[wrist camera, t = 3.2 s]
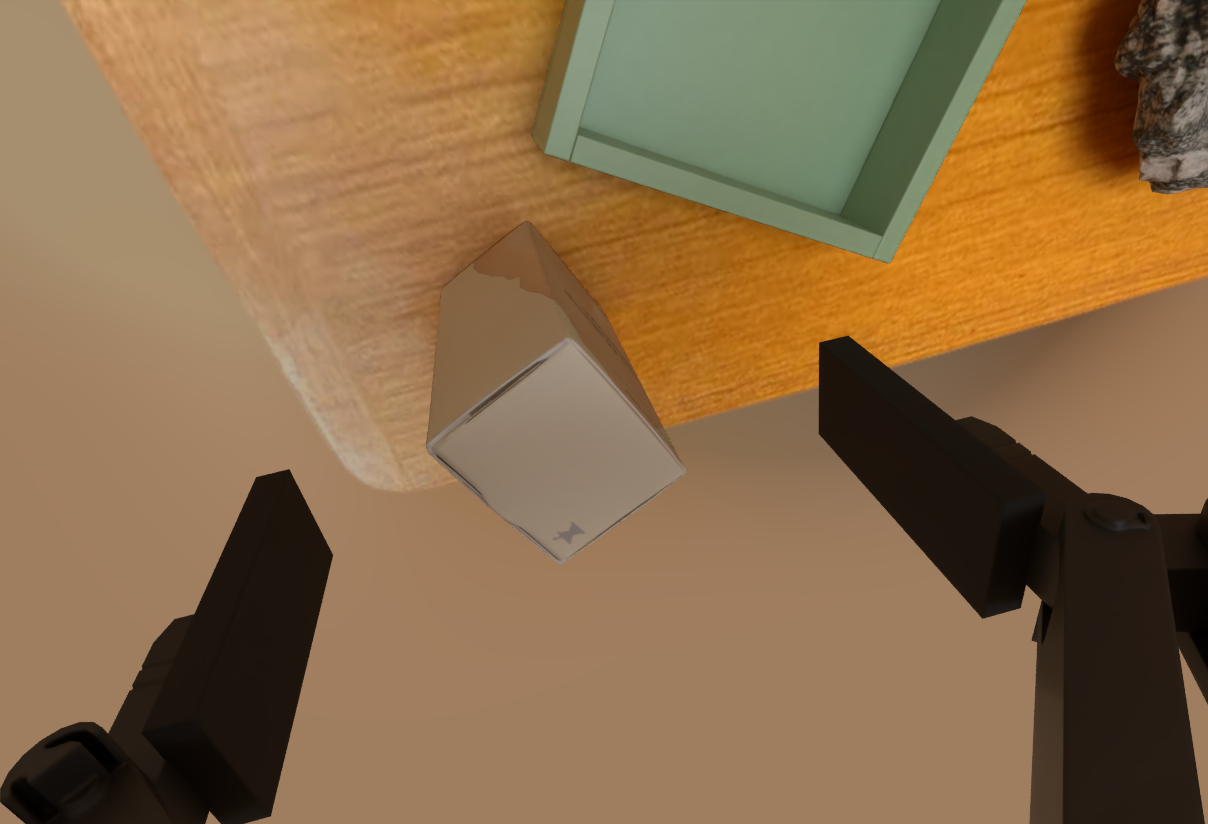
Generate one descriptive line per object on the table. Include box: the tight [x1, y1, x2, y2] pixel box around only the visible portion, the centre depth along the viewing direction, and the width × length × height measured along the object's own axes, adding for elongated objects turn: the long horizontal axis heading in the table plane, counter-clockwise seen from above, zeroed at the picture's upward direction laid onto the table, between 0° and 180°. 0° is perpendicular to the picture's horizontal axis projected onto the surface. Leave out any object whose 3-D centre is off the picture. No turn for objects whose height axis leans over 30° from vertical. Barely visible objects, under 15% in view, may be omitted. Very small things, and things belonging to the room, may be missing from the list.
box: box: [426, 221, 686, 564], centre depth 20 cm, size 5×4×11 cm
